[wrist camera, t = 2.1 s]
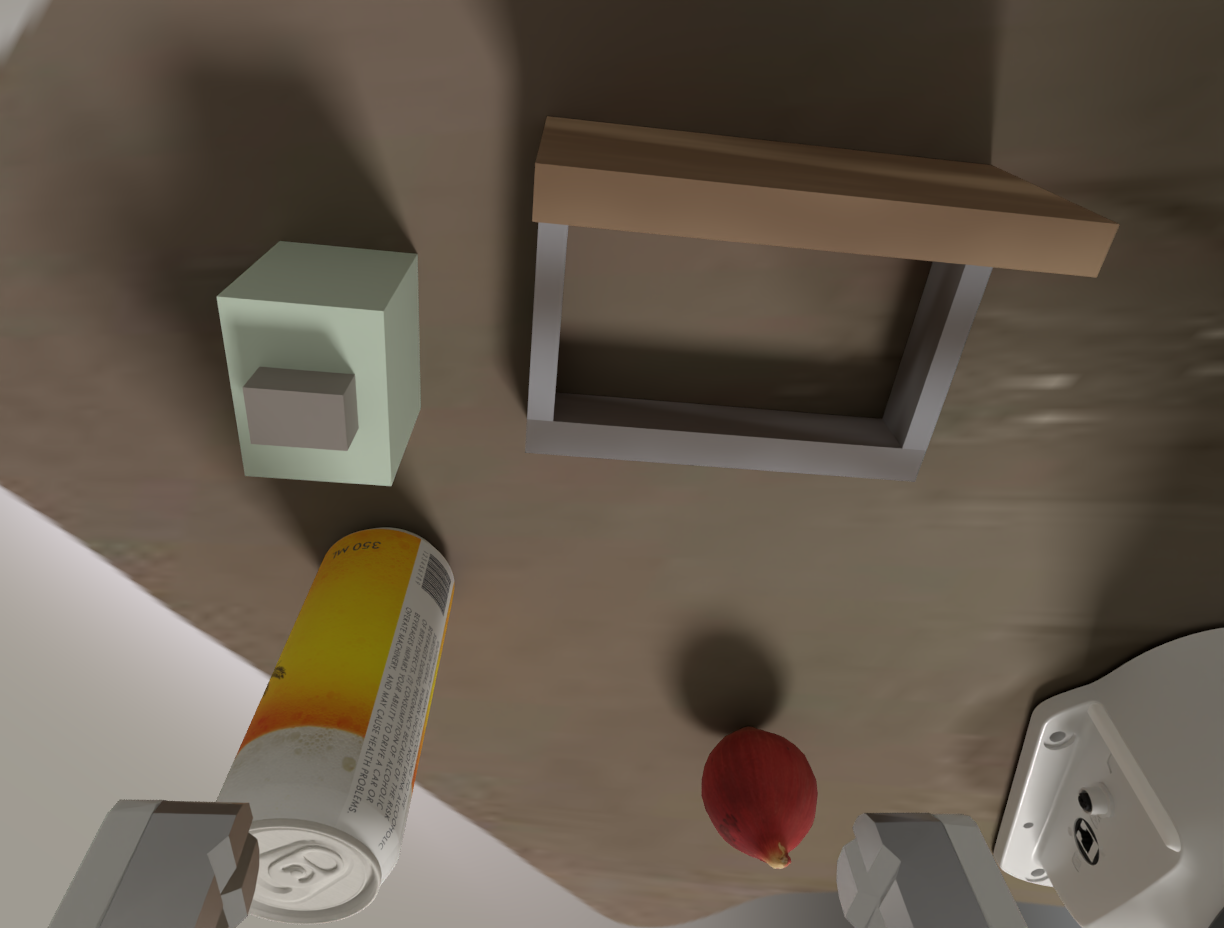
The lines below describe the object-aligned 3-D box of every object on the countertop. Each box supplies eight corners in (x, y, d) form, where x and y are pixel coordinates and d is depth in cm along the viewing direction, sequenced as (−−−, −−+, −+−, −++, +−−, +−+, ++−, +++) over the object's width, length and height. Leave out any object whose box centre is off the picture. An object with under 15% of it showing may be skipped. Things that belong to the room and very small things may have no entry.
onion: (740, 778, 46) (767, 917, 39) (672, 734, 44) (688, 872, 37) (819, 728, 44) (862, 865, 37) (751, 679, 42) (784, 815, 35)
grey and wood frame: (894, 450, 35) (970, 566, 28) (528, 422, 33) (515, 536, 27) (991, 165, 29) (1119, 224, 22) (547, 116, 27) (535, 162, 20)
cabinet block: (421, 407, 33) (382, 510, 27) (297, 397, 33) (228, 499, 26) (417, 253, 30) (372, 329, 23) (280, 240, 29) (196, 314, 23)
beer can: (297, 556, 37) (146, 865, 24) (398, 495, 35) (294, 791, 22) (385, 636, 40) (292, 951, 27) (482, 582, 38) (432, 890, 25)
